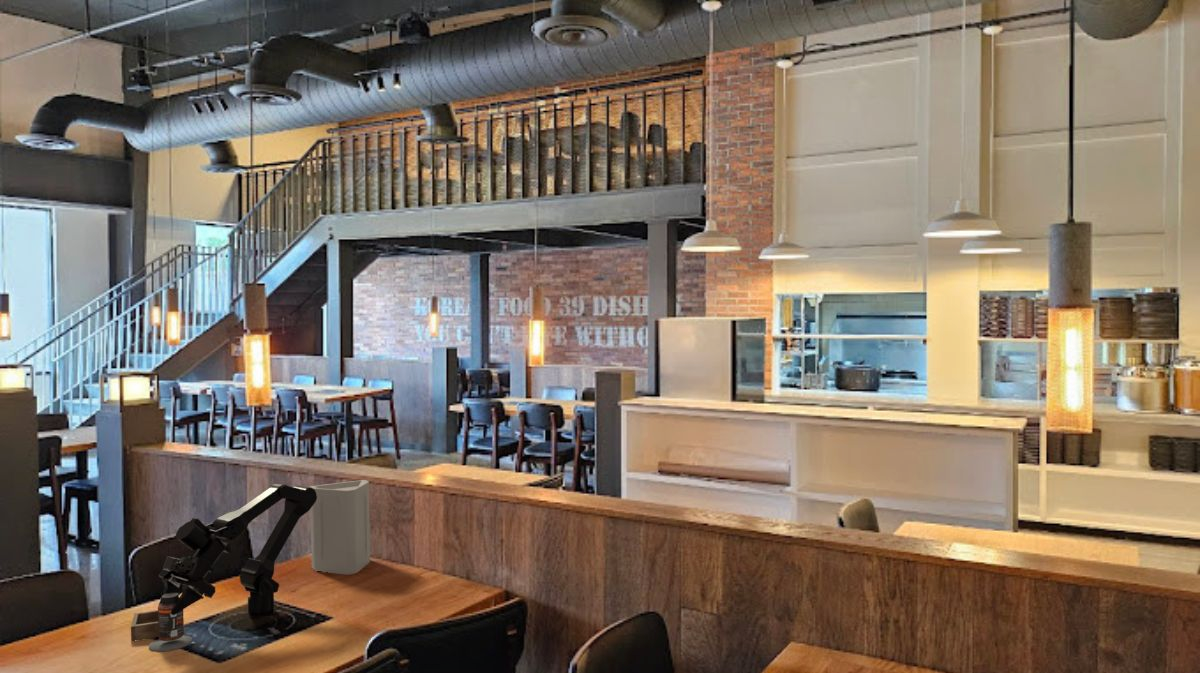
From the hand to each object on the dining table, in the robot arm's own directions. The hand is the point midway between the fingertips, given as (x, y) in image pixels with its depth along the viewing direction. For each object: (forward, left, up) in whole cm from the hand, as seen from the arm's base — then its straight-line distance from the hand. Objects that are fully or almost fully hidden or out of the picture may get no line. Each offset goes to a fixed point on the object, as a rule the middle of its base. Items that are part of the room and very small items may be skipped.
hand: (165, 612), depth 215 cm
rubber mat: (-1, -1, -9) cm, 9 cm away
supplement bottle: (-1, -1, -7) cm, 8 cm away
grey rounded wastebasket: (-52, -48, -9) cm, 71 cm away
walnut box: (+3, -13, -9) cm, 16 cm away
